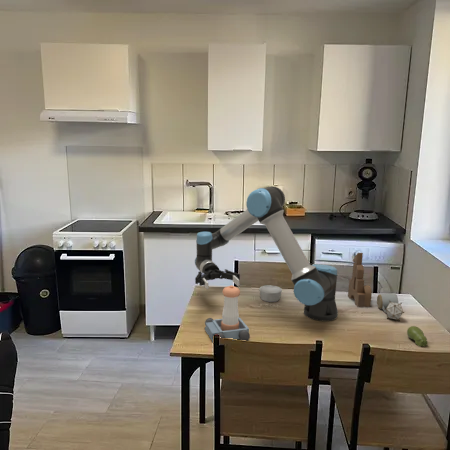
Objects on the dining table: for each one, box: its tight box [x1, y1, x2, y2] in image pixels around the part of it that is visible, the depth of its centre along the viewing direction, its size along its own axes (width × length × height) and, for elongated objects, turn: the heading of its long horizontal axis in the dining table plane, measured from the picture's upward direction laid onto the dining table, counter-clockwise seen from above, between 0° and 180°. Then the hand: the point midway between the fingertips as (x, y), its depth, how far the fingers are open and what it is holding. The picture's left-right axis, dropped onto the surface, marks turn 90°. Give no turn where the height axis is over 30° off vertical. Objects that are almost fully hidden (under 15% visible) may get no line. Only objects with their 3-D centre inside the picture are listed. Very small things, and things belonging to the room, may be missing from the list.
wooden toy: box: [347, 252, 373, 308], centre depth 212 cm, size 16×7×25 cm, turn 4°
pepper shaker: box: [221, 284, 241, 331], centre depth 174 cm, size 7×7×19 cm
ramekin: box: [258, 284, 283, 303], centre depth 214 cm, size 11×11×5 cm
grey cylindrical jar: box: [376, 292, 399, 314], centre depth 203 cm, size 11×8×8 cm
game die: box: [385, 300, 406, 322], centre depth 193 cm, size 9×8×10 cm
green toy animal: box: [406, 325, 428, 347], centre depth 173 cm, size 6×5×10 cm
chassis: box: [204, 317, 251, 343], centre depth 175 cm, size 15×16×4 cm
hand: (223, 284), depth 182 cm, fingers open, 13 cm apart
